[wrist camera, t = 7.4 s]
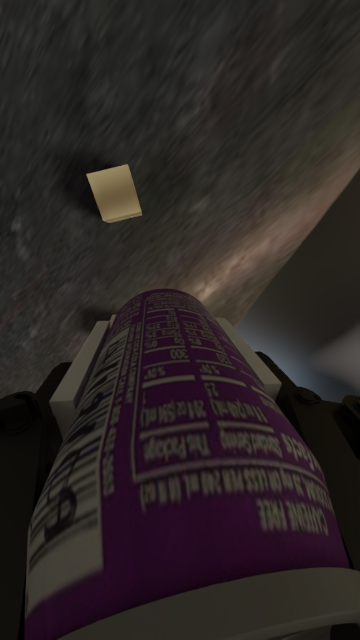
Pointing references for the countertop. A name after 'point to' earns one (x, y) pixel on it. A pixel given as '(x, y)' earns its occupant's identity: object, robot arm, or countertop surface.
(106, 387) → the beverage can
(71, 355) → the countertop surface
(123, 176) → the beech cube
